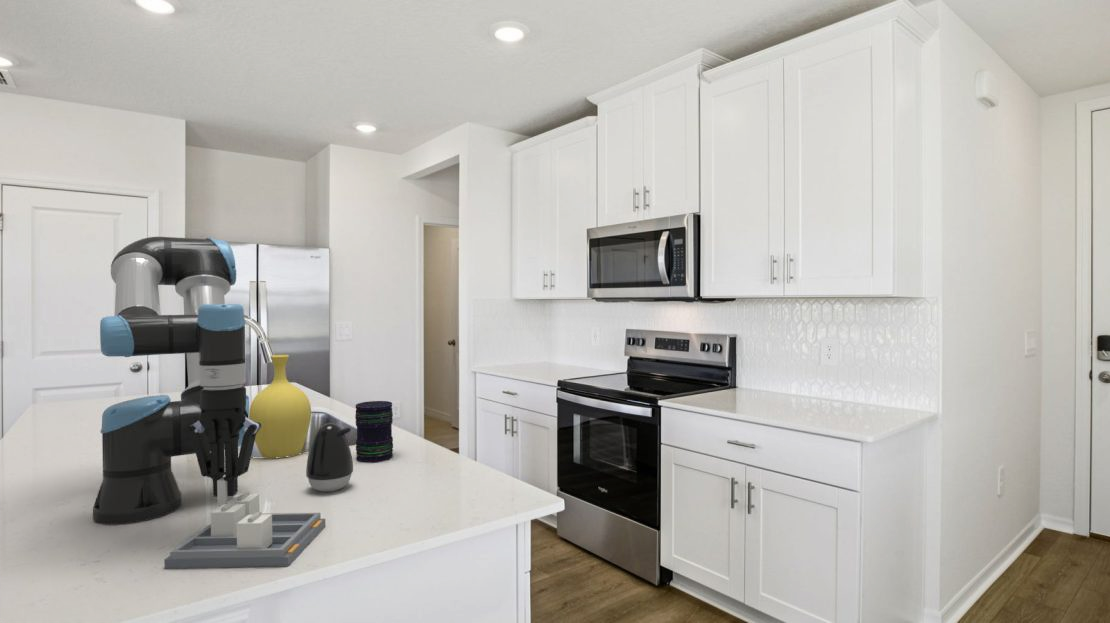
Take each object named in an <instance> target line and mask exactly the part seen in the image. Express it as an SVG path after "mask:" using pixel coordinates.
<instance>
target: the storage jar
mask: <svg viewBox="0 0 1110 623" xmlns="http://www.w3.org/2000/svg"><path fill="white" fill-rule="evenodd" d="M354 415H355V416H354V417H355V427H356V439H355V444H356V445H355V451H356V461H357V462H358V463H365V464H375V463H382V462H387V461H390V460H391V459H393V458H394V454H393V452H394V450H393V448H394V443H393V442H394V437H393V433H392V428H393V427H392V425H393V421H394V420H393V402H392V401H387V400H371V401H363V402H359V403H356V404H355V414H354Z"/></svg>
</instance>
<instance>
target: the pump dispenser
mask: <svg viewBox="0 0 1110 623" xmlns="http://www.w3.org/2000/svg"><path fill="white" fill-rule="evenodd" d="M351 431H352V429H351V428H350V426H349V427H345V428H341V427H340V426H339V425H338V424H336V423H333V422H331V423H330V422H328V423H325V424H323V425H321V426H320V427H319V428H318V429H317V430H316V433H315V434H314V436H313V438H312V442H311V445H310V447H309V452H308V455H307V460H306V468H305V476H306V478H307V480H308V483H309V485H310V486H311V487H312V488H313V489H314V490H315V491H318V492H321V493H331V492H336V491H339V490H341V489H344V487H346V486H347V485H348V483H349V482H350V480H351V477H352V474H353V472H354V464H353V458H352V452H351V448H350V445H349V441H348V439H347V437H346V434H348V433H350V432H351Z"/></svg>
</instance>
